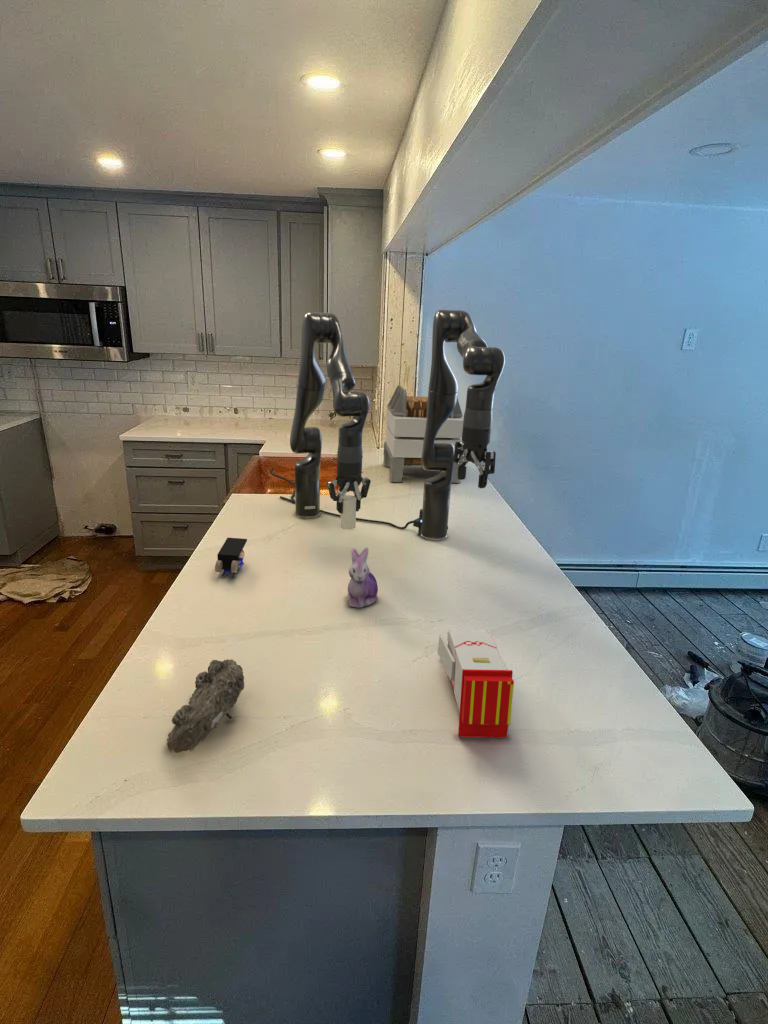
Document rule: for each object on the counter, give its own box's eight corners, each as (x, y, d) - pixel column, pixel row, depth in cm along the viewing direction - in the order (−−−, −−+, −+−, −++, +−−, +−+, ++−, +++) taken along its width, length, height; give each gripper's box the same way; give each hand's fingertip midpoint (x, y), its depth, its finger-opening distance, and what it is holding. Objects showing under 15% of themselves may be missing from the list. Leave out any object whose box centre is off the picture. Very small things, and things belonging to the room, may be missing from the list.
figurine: (354, 612, 147) (355, 559, 142) (338, 595, 155) (339, 544, 150) (386, 605, 151) (388, 553, 146) (369, 588, 160) (371, 539, 155)
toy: (488, 613, 130) (523, 677, 101) (484, 667, 133) (517, 744, 104) (435, 612, 130) (455, 676, 101) (432, 666, 133) (451, 743, 103)
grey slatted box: (382, 463, 289) (386, 382, 275) (445, 464, 293) (451, 384, 279) (390, 482, 257) (394, 392, 243) (460, 483, 261) (468, 394, 247)
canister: (338, 525, 180) (338, 495, 176) (352, 523, 182) (353, 494, 178) (343, 530, 176) (344, 500, 172) (357, 528, 178) (358, 499, 174)
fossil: (192, 660, 117) (244, 628, 112) (224, 691, 120) (276, 661, 115) (142, 746, 98) (202, 712, 93) (182, 779, 101) (242, 748, 96)
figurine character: (238, 584, 162) (249, 557, 175) (236, 562, 158) (247, 536, 172) (215, 584, 161) (227, 556, 175) (212, 561, 158) (225, 535, 171)
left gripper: (366, 454, 177) (364, 505, 183) (323, 457, 171) (322, 510, 177) (376, 460, 171) (374, 513, 177) (332, 463, 165) (331, 518, 171)
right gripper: (449, 421, 154) (444, 478, 160) (484, 431, 143) (478, 492, 148) (470, 419, 158) (465, 475, 163) (506, 429, 147) (499, 488, 152)
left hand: (348, 511), depth 177 cm, fingers closed on canister, 5 cm apart
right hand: (471, 483), depth 156 cm, fingers open, 8 cm apart
